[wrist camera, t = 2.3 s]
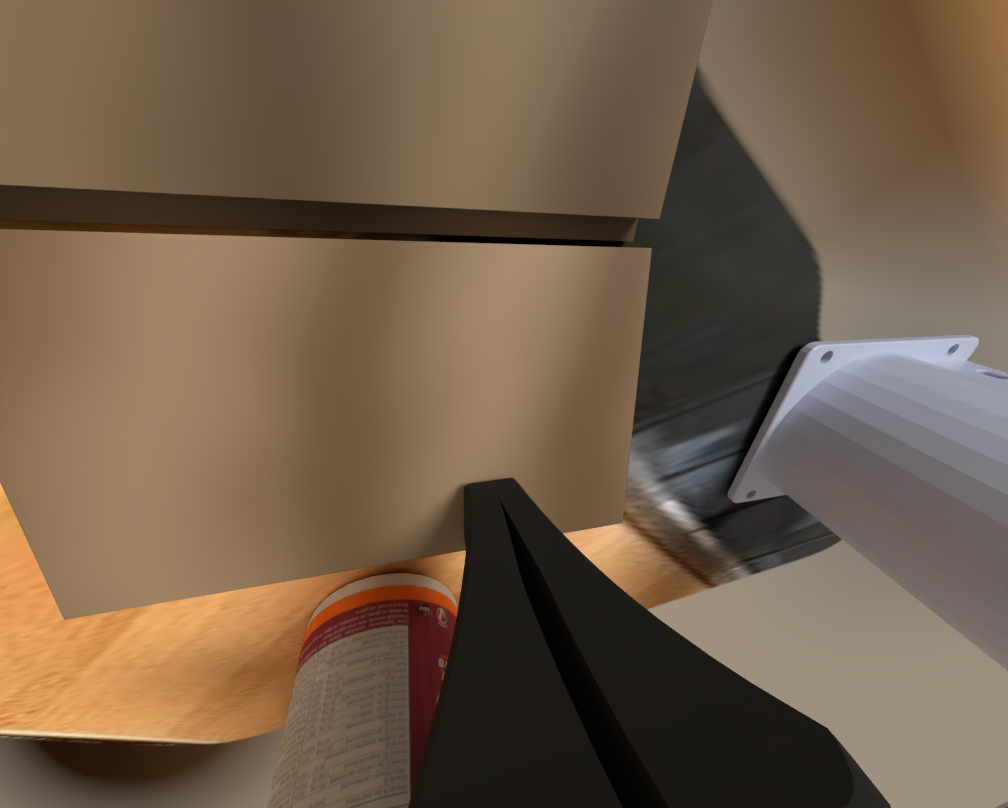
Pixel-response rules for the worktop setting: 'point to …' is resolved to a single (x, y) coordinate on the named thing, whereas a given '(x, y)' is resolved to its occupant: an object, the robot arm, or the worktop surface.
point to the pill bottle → (365, 694)
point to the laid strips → (346, 113)
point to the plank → (299, 401)
